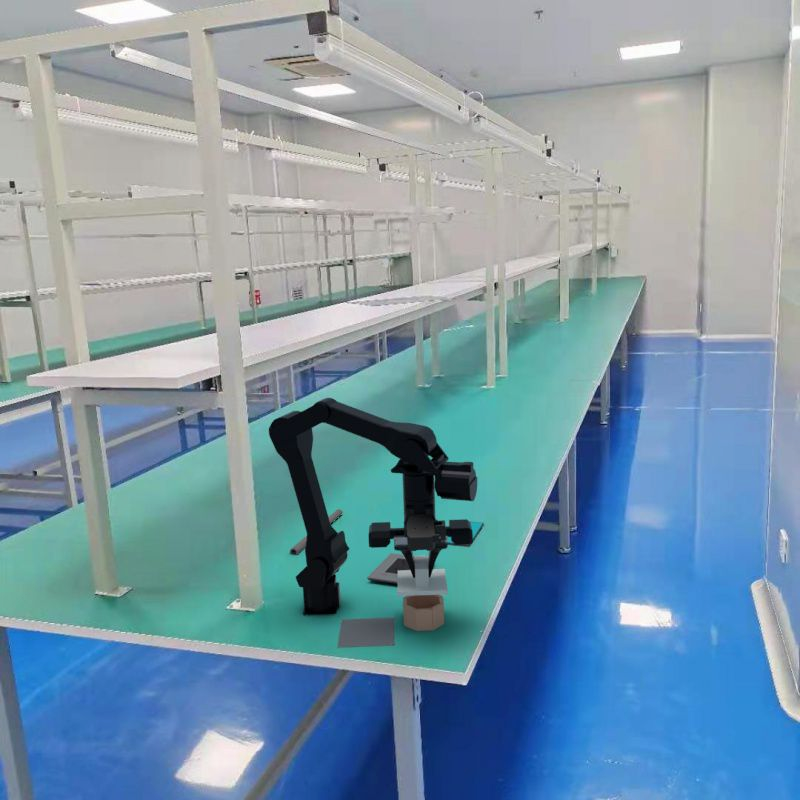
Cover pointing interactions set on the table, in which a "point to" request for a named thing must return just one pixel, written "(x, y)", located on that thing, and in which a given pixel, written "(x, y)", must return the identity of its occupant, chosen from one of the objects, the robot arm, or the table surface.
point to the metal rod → (302, 543)
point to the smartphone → (475, 529)
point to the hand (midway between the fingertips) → (421, 576)
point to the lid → (422, 580)
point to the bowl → (423, 612)
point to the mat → (366, 632)
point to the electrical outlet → (390, 569)
